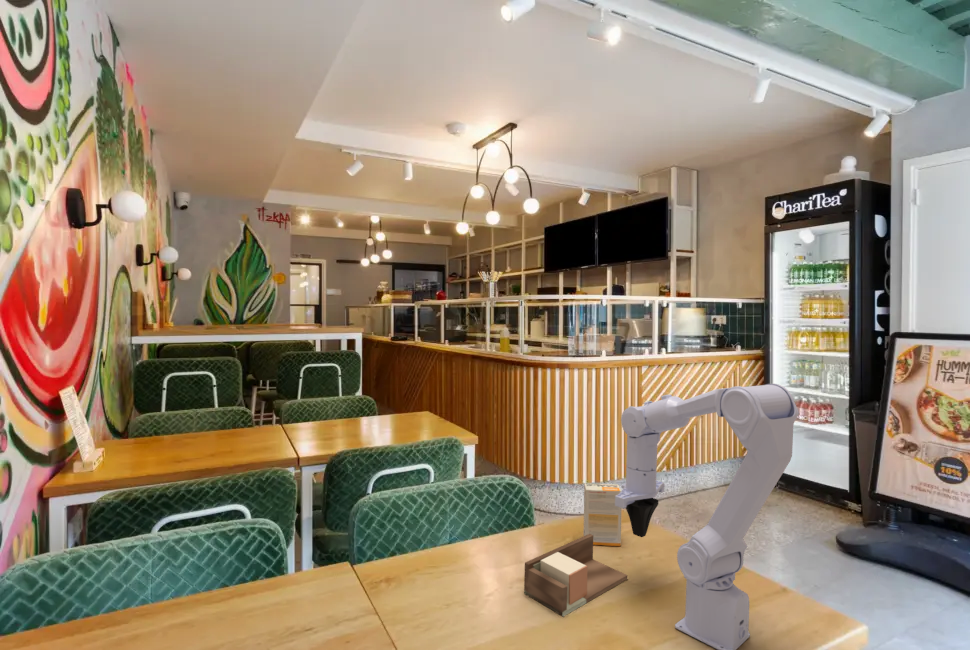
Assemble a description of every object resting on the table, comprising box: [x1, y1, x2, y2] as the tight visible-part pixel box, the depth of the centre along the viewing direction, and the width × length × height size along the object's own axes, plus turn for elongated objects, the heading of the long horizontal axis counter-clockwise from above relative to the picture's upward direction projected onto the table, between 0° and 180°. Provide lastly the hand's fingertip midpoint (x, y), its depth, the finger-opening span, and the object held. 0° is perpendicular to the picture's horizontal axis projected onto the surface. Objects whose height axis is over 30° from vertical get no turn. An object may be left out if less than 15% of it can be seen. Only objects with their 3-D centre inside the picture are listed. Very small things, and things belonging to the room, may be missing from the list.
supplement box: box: [583, 482, 622, 547], centre depth 122 cm, size 8×5×13 cm, turn 84°
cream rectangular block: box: [540, 552, 587, 605], centre depth 99 cm, size 7×5×6 cm
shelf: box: [523, 534, 628, 617], centre depth 102 cm, size 10×20×6 cm, turn 132°
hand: (639, 534), depth 103 cm, fingers closed
